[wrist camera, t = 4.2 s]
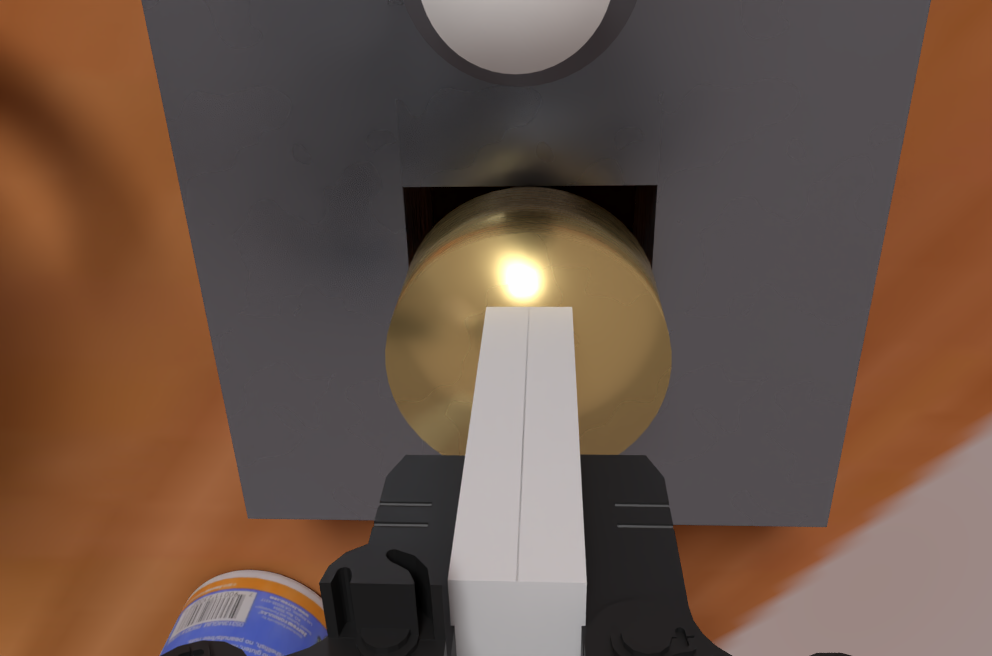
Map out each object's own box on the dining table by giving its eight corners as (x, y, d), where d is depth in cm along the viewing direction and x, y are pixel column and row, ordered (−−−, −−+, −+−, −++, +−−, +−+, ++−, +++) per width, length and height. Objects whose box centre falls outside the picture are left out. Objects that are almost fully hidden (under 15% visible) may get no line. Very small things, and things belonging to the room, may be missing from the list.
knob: (432, 333, 23) (396, 479, 17) (419, 135, 20) (372, 234, 15) (634, 333, 22) (662, 482, 17) (645, 132, 20) (682, 232, 14)
